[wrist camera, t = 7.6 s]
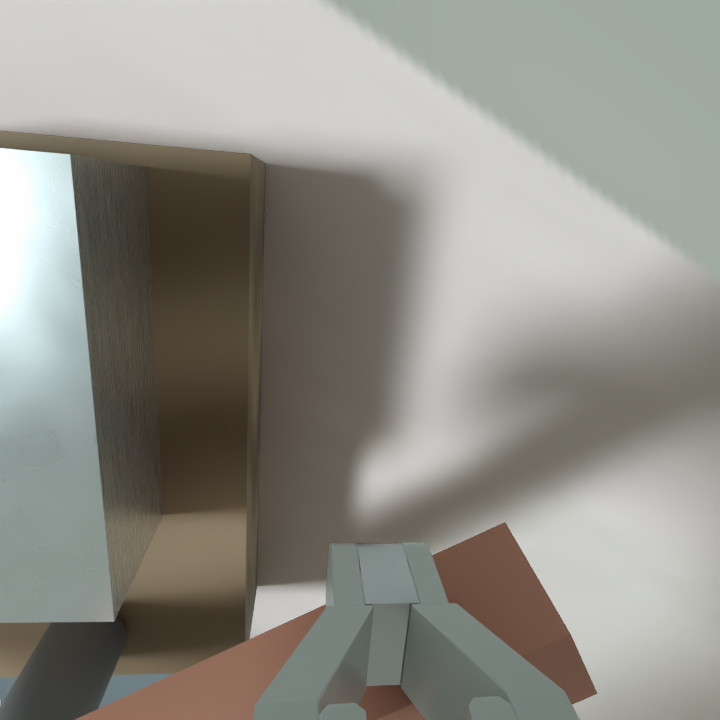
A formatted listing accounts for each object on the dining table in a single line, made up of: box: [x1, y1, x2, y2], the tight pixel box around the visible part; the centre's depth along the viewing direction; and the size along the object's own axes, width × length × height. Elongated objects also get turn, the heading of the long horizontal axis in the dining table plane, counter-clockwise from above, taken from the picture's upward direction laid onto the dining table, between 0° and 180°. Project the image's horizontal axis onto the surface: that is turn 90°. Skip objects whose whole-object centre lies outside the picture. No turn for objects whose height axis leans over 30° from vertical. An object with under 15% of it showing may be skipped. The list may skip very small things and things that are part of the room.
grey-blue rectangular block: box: [0, 148, 163, 623], centre depth 11 cm, size 10×5×4 cm, turn 175°
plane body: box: [0, 131, 265, 677], centre depth 16 cm, size 17×10×4 cm, turn 175°
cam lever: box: [0, 522, 597, 720], centre depth 12 cm, size 15×2×7 cm, turn 116°
